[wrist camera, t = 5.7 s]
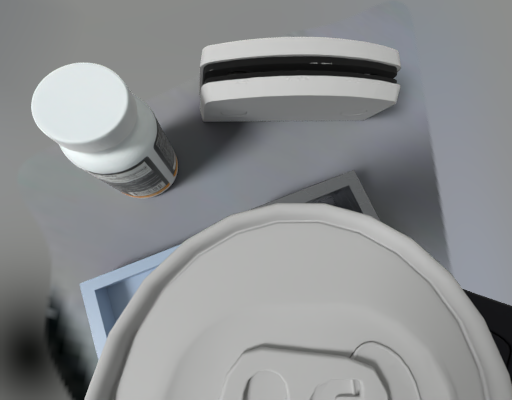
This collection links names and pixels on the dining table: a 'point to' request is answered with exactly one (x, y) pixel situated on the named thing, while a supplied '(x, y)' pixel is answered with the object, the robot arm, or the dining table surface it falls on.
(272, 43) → the white black arched block
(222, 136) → the dining table surface
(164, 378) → the beverage can
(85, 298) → the tray
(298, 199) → the short square tube
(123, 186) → the pill bottle
